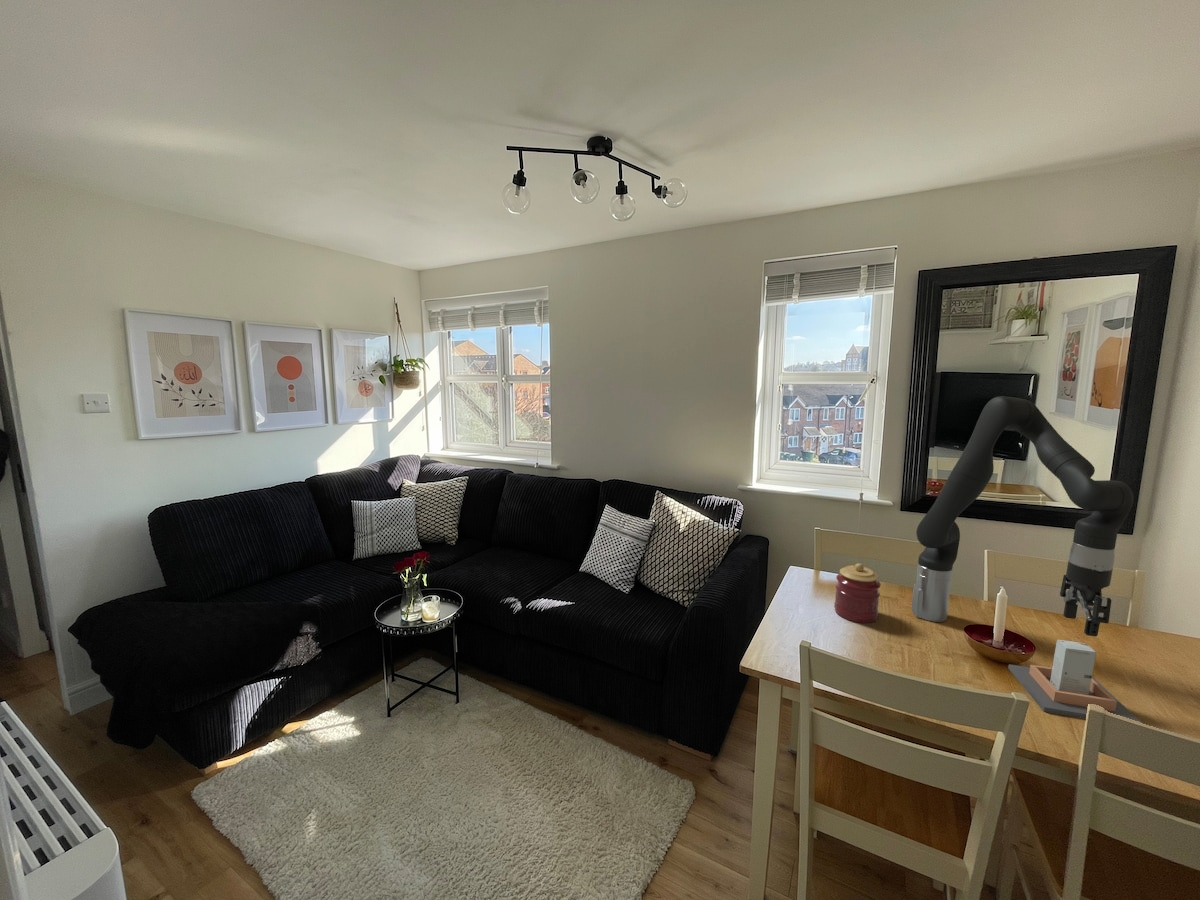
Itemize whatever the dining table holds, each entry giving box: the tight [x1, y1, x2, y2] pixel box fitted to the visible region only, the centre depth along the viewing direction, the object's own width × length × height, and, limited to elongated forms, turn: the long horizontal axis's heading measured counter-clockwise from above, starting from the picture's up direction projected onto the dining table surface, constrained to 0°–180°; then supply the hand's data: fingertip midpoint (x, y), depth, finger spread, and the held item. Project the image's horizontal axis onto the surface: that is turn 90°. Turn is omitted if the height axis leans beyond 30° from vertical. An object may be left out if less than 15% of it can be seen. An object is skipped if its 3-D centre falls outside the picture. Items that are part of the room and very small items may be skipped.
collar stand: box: [1007, 663, 1142, 722], centre depth 121 cm, size 18×18×4 cm
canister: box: [833, 562, 881, 624], centre depth 162 cm, size 13×13×18 cm
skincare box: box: [1050, 639, 1097, 695], centre depth 121 cm, size 6×4×12 cm
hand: (1079, 626), depth 119 cm, fingers open, 8 cm apart
